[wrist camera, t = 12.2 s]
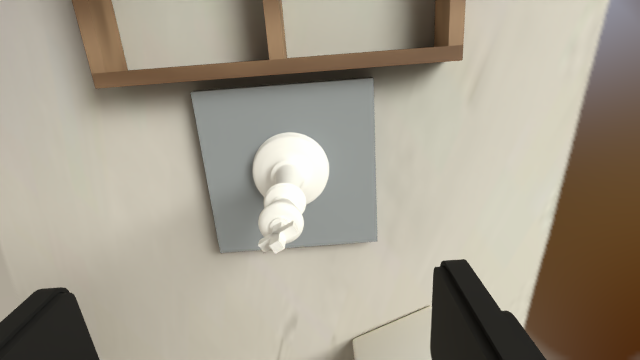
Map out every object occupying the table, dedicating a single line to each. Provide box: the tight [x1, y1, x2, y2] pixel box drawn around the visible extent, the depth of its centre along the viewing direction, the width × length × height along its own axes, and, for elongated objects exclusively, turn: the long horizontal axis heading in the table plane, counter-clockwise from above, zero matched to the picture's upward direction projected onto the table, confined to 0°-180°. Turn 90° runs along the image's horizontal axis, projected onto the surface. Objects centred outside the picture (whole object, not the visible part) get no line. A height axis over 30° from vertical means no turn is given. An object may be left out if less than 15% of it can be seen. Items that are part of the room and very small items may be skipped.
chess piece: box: [253, 132, 329, 254], centre depth 19 cm, size 5×5×10 cm
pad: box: [191, 77, 377, 253], centre depth 24 cm, size 11×11×1 cm
